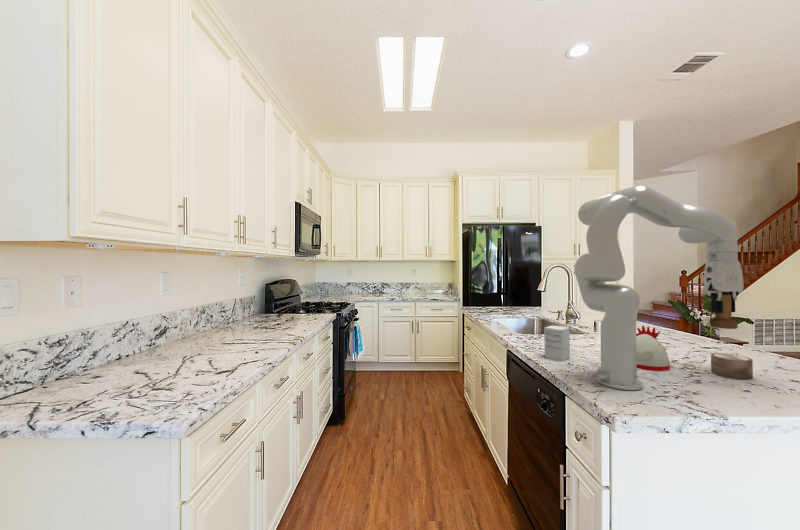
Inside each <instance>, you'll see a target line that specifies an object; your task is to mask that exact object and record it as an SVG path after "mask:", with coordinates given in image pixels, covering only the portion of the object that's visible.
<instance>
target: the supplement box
mask: <svg viewBox="0 0 800 530" xmlns="http://www.w3.org/2000/svg"><path fill="white" fill-rule="evenodd" d="M543 328H544V329H543V330H544V332H543V334H544V341H543V342H544V358H545V359H548V358H549V360H553V359H554V361H558V360H559V361H558V362H564V361H566V360H568V359H570V358H571V353H570V351H571V347H570V345H571V344H570V343H571V342H570V341H571V340H570V327H568V326H560V325H552V324H551V325H548V326H545V327H543Z"/></svg>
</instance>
